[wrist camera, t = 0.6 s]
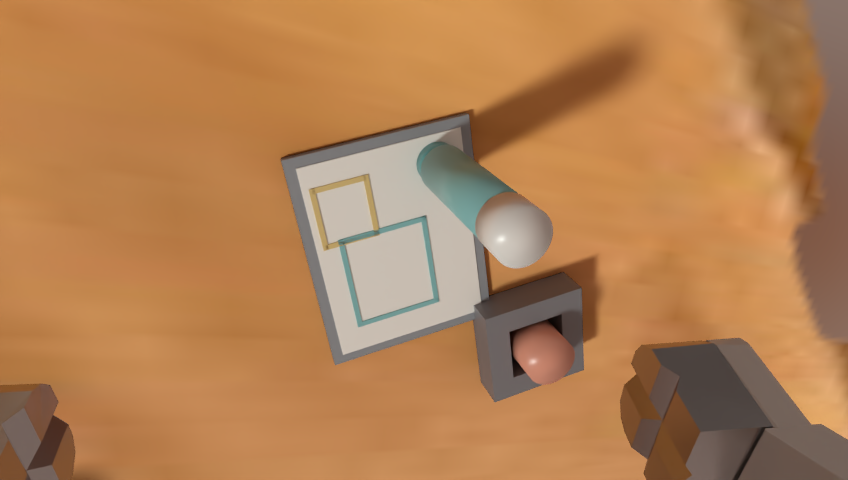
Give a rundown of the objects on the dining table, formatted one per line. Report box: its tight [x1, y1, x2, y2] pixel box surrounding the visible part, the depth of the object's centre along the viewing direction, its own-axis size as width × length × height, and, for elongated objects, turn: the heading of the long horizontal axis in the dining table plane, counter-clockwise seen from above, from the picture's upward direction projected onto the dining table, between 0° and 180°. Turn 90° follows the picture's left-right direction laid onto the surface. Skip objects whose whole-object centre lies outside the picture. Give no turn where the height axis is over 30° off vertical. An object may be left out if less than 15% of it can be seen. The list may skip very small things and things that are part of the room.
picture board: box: [281, 113, 489, 365], centre depth 49 cm, size 18×14×1 cm
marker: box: [416, 142, 553, 268], centre depth 41 cm, size 4×4×14 cm
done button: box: [509, 319, 575, 385], centre depth 55 cm, size 4×4×4 cm
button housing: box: [473, 272, 584, 402], centre depth 56 cm, size 9×9×3 cm
